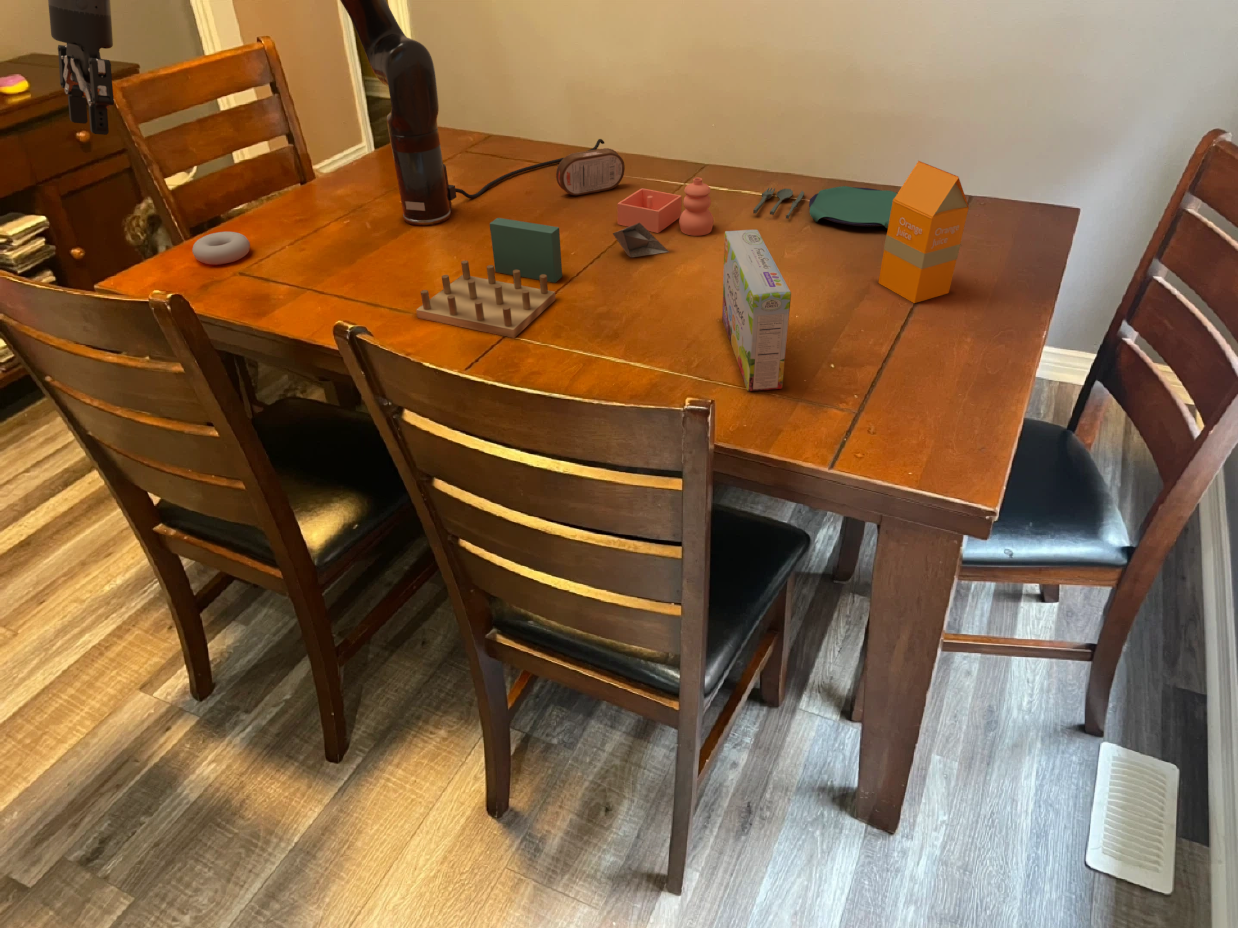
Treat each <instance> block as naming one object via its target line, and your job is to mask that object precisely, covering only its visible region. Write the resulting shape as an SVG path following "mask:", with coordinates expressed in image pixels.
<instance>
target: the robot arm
mask: <svg viewBox="0 0 1238 928" xmlns="http://www.w3.org/2000/svg"><path fill="white" fill-rule="evenodd" d="M339 1H340V3H341V4H342V6H343V8H344V10H345V11H346V13H347V14H348V16H349V18H350V20H351V22H352V24H353V27H354V29H355V31H356V34H357V36H358V39H359V41H360V43H361V46H362V48H363V51H364V53H365V56H366V58H367V61H368V63H369V66H370V68H371V70H372V72H373V74H374V75H375V77H376V78H377V79H378V81H379V82H380V83H381V84H382V85H384V86H386V87H388V90H389V91H388V92H389V99H390V105H391V110H390V112H389V113H388V114H387V116H386V125H387V131H388V137H389V142H390V147H391V153H392V157H393V163H394V169H395V174H396V180H397V187H398V191H399V197H400V202H401V207H402V216H403V221H404V222H406V223H407V224H409V225H413V226H432V225H438V224H440V223H443V222H445V221H447V220H449V219H450V218H451V216H452V213H451V212H453V207H452V206H453V205H452V201H453V200H455V199H456V198H457V193H458V194H461V195H463V196H464V197H465V198H467V199H476V198H478V197H480V196H482V194H484V193H485V192H486V191H487V190H488V189H490V188H491V187H493V186H494V185H496V184H498V183H500V182H502V181H504V180H506V179H508V178H510V177H513V176H516V175H518V174H521V173H524V172H527V171H531V170H535V169H539V168H542V167H546V166H550V165H554V164H559V163H560V162H561V161H562V159H563V158H565V157H566V156H564V157H561V158H555V159H552V160H547V161H544V162H543V161H542V162H540V163H536V164H532V165H529V166H525V167H522V168H519V169H516V170H513V171H510V172H508V173H506V174H504V175H502V176H499V177H497V178H496V179H494V180H492V181H490V182H489V183H487V184H485V185H484V186H483V187H482V188H481V189H479V191H478V192H476V193H474V194H469V193H467V191H465V190H464V189H461V188H458V187H456V185H453V184H449V179H448V178H449V177H448V170H447V165H446V164H444V160H443V153H442V146H441V139H440V133H439V127H438V116H439V111H440V110H439V109H440V107H439V95H438V94H439V93H438V86H437V76H436V70H435V65H434V60H433V57H432V55H431V53H430V51H429V50H428V49H427V47H426V46H425V45H424V44H422V43H421V42H420V41H417V40H415V39H413V38H410V37H407V36H406V34H405V33H404V31H403V30H402V28H401V26H400V25H399V23H398V21H397V19H396V18H395V17H396V16H394V13H393V12H392V10H391V7H390V6H389V4H388V1H387V0H339ZM47 2H48V15H49V25H50V26H49V27H50V36H51V38H52V39H53V40H55V41H57V42H60V43H65V44H66V45H63V44H58V45H57V54H58V55H57V56H58V67H59V68H58V70H59V85H60V88H62V89H64V93H65V95H67V103H68V113H69V115H68V116H69V120H70V122H72V123H74V124H87V123H88V121H89V130H90V132H91V133H92V134H94V135H103V136H107V135H109V132H110V131H109V117H108V108H110V106H114V104H115V99H114V87H113V77H112V76H113V75H112V63H111V60H110V59H105V58H104V59H103V58H102V57H101V53H100V50H101V49H112V48H113V46H114V40H113V23H112V8H111V0H47ZM87 104H88V107H87ZM88 118H89V119H88ZM600 144H602V145H604V144H605V141H604V139H602V138H598V139H597V141H596V143H595V145H594V146H593V147H592V148H590V149H588V150H587V151H591V150H597V149H599V146H600Z"/></svg>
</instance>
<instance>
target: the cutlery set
mask: <svg viewBox="0 0 1238 928" xmlns="http://www.w3.org/2000/svg"><path fill="white" fill-rule="evenodd" d="M775 190H776V188H775V187H774V188H773V187H771V188H770V187H767V189H766V190H765V191H764V192H762V193H761V200H760V201H759V202H758V204H756V206H755V207H754V208H753V211H752V214H758V212H759V210H760V209H761V208H763V205H764V203H765V202H766V200H769V199H772V197H773V195H774V192H775ZM897 194H898V192H895V191H892V190H885V189H884V190H882V189H876V188H870V187H854V186H847V185H842V186H836V187H830V188H825V189H821V190H819V191H818V193H815V194H813V196H811V198H809V202H808V207H809V215H810V217H811V218H812V220H813V221H814V222H815V223H818V221H819V220H820V219H824V220H827V221H829V222H833V223H836V224H841V225H847V226H853V227H885V229H888V225H889V220H890V214H891V208H892V203H893V199H894V198H895V197H896V195H897ZM793 195H794V191H793V190H792V189H791V188H783V189H779V190H778V191H777V192H776V198H778V199H779V200H778V201H777V202H776V203H775V204H774V206H773V207H772V208H771V210H770V211H769V216H770V215H771V216H774V215H775V214H776V211H777V210H778V208H779V206H780V205H781V204H782V202H783V201H786V200H788V199H790V198H792V197H793ZM804 196H805V191H803V190H801V191H800V193H799V194H798V196H797V198H796V199H795V201H794V200H793V201H791V202H792V203H791V204H790V205H791V206H790V209H789V211H788V213H787V214H785V219H787V220H789V219H790V216H791V214H792V212H793V211H794V209H796V208H799V203H800V202H801V201H802V199H803V198H804Z"/></svg>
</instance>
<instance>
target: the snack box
mask: <svg viewBox="0 0 1238 928" xmlns="http://www.w3.org/2000/svg"><path fill="white" fill-rule="evenodd" d="M760 233H761V232H760V231H759V230H758V229H756V228H755V229H741V230H740V229H739V230H725V232H724V242H723V243H724V244H723V245H724V246H723V247H724V248H723V275H722V276H723V278H722V279H723V280H722V282H723V284H722V314H721V318H722V319H721V321H722V323H723V326H724V329H725V332H726V335H727V338H728V340H729V343H730V345H731V348H732V351H733V354H734V357H735V360H736V363H737V365H738V366H737V367H738V368H739V372H740V374H741V377H742V379H743V383H744V385H745V388H746V391H747V392H755V391H769V390H778V389H779V390H781V389H783V385H784V383H783V382H784V374H785V373H784V371H785V362H786V361H785V360H786V352H787V340H788V329H789V321H790V320H789V319H790V311H791V302H792V301H791V300H792V291H791V290H790V288H789V286H788V284H787V282H786V281H785V279H784V276H783V275H782V273H781V271H780V270H779V268H778V266H777V264H776V262H775V260H774V258H773V256H772V254H771V253H770V250H769V249H768V247H767V244H766V243H765V241H764V239H763V237H762V235H761V234H760Z"/></svg>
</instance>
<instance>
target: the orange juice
mask: <svg viewBox="0 0 1238 928" xmlns="http://www.w3.org/2000/svg"><path fill="white" fill-rule="evenodd" d="M897 193H898V194H897V195H896V197H895V198H894V199H893V203H892V208H891V214H890V220H889V225H888V228H887V232H886V235H885V241H884V245H883V254H882V259H881V265H880V272H879V276H878V282H877V283H878V284H879V285H881V286H883V287H885V288H886V289H888V290H889V291H891V292H893V293H895V294H897V295H898V296H901V297H902V298H903V299H906V300H907V301H909V302H911V303H913V304H918V303H920V302H923V301H927V300H930V299H935V298H937V297H940V296H943V295H944V296H945V295H946V294H949V293H950V291H951V290H950V289H951V285H952V280H953V276H954V273H955V267H956V263H957V260H958V256H959V253H960V249H961V242H962V238H963V234H964V230H965V226H966V221H967V218H968V217H967V216H968V212H969V209H970V206H969V203H968V200H967V197H966V194H965V191H964V188H963V186H962V182H961V180H960V176H958V175H956V174H953V173H951V172H948V171H947V170H943V169H940V168H938V167H936V166H933V165H931V164H928V163H925V162H922V161H921V160H917V162H916V164H915V166H914V167H913V168H912V170H911V172H910V173H909V175H908V177H907V178H906V180H905V181H904V183H903V184H902V186H901V188H900V189H899V190H898V192H897Z"/></svg>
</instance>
